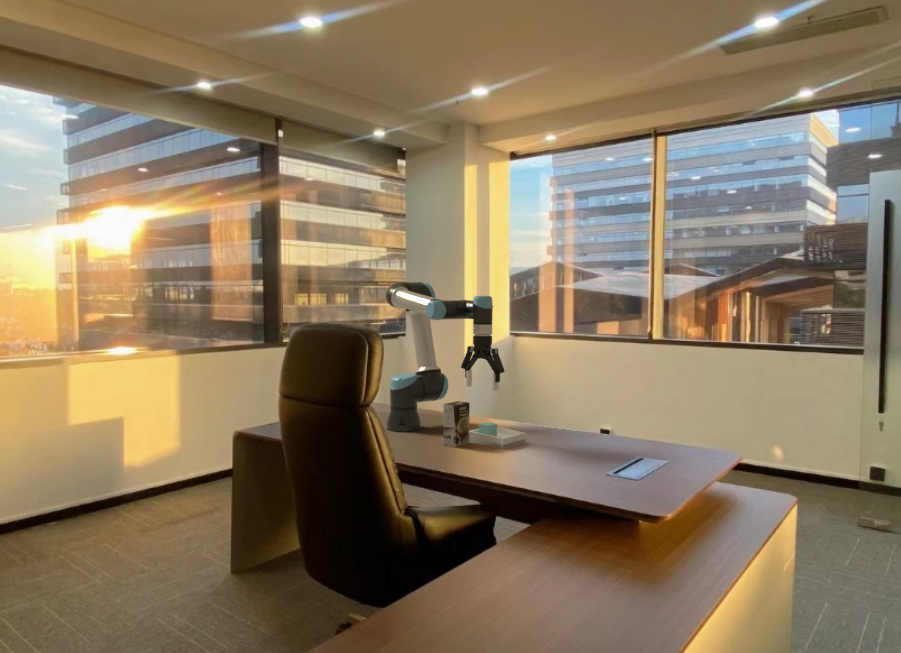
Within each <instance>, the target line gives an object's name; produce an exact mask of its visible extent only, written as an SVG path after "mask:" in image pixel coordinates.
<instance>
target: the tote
mask: <svg viewBox="0 0 901 653" xmlns="http://www.w3.org/2000/svg"><path fill="white" fill-rule="evenodd" d="M470 442H471V443H475V444H478V445H482V446H487V447H488V446H489V447H492V448H495V449H496V448H497V449H501V450H505V449H509V448H513V447H516V446H519V445H522V444H526V443H527V432H524V431H519V430H513V429H509V428H504V427H498V426H497V436H492V435H487V434H482V433H479V428H475V429H472V430H469V443H470Z"/></svg>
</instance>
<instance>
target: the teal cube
mask: <svg viewBox="0 0 901 653" xmlns="http://www.w3.org/2000/svg"><path fill="white" fill-rule="evenodd" d="M478 425H479V426H478V427H479V428H478V429H479V433H482V434H487V435H492V436H497V427H498V424H497V423H493V422H489V421H486V422H482V423H481V422H480V423H479V424H478Z"/></svg>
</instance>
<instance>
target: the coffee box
mask: <svg viewBox="0 0 901 653" xmlns="http://www.w3.org/2000/svg"><path fill="white" fill-rule="evenodd" d="M442 430H443V432H442V433H443V438H442V439H443V440H442V441H443V443H442V445H443V446H448V447H452V448H458V447H460V446H463V445H468V444H470V442H469V431H470V402H468V401H458V400H457V401H453V402H447V403H444V404H443V428H442Z"/></svg>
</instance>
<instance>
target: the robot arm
mask: <svg viewBox="0 0 901 653" xmlns="http://www.w3.org/2000/svg"><path fill="white" fill-rule="evenodd" d="M385 300H386V302H387V304H388V305H389V306H391V307H393V308H395V309H400V310H401V309H405V311H406V314H407V315H408V316H410V322H411V330H412V336H413V344H414V350H415V352H414V353H415V357H416V358H415V359H416V366H417V369H416V371H415V372H407V373H406V372H405V373H404V372H403V373H399V374H395V375H393V376H392V377H391V378H390V382H389V383H390V384H389V397H390V398H389V407H390V408H389V414H388V416H387V421H386V424H385V427H386V428H387V429H386V430H388V431H392V432H413V431H418V430H421V429H422V421H421V420H420V419H421V417H420V414H419V412H418V403H424V402H435V401H439V400H443V398H445V396H446V395H447V393H448V390H449V380H448V377H447V375H446V374H444V373H442V370H441V368H440V367H439V366H438V365H437V358H436V357H437V356H436V351H435V346H434V344H435V343H434V338H433V333H432V332H433V331H432V326H431V325H432V323H431V320H435V321H441V320H472V321H473V322H472V326H473V327H472V333H473V337H472V344H473V345H469V346H468V345H467V348H466V353H465V356H464V358H463V361H462V363H461V366H460V368H461V369H463V370H464V376H465V382H466V383H465V387H466V388H471V387H472V386H473V369H472V368H473V366H474V365H475V363H477V361H478V359H482V360H485V361H486V362H487V363H488V365H489V366H490V368H491V370H492V372H493V374H492V392H496V391H499V384H500V382H501V374H502V373H503V374H504V373H505V368H504V366H503V363H502V360H501V357H500V354H499V348H497V347H495V348H492V345H493V336H492V334H493V314H494V313H493V312H494V311H493V308H494V306H493V297H492V296H491V295H474V296H473V300H468V299H459V300H455V299H454V300H451V299H450V300H448V299H447V300H445V299H440V298H439V299H438V298H436V293H435V290H434V288H433V287H432V285H431V284H429V283H427V282H421V281H411V282H406V281H400V282H399V281H398V282H395V283H392V284H391V285H390V286H388V287H387V289H386V292H385Z"/></svg>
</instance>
